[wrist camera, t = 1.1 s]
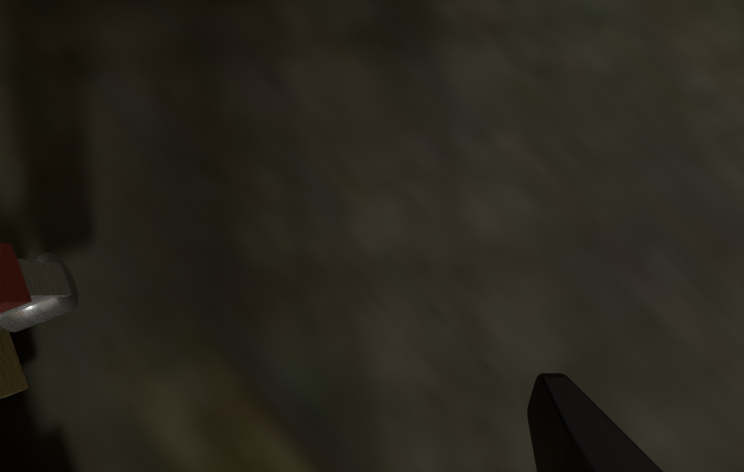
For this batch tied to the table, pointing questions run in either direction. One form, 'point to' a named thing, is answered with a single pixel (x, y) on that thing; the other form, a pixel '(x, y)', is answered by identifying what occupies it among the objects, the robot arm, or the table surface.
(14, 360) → the valve assembly
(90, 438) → the table surface
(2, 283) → the lever
